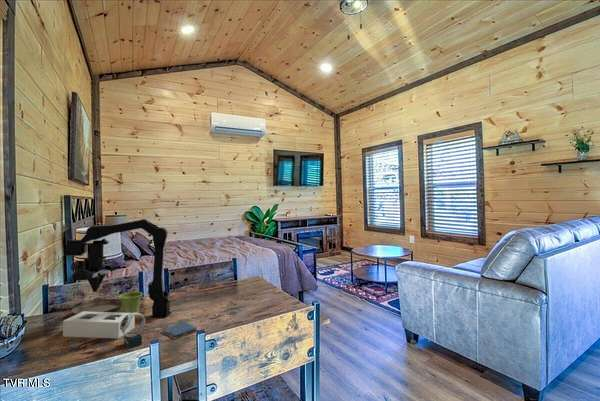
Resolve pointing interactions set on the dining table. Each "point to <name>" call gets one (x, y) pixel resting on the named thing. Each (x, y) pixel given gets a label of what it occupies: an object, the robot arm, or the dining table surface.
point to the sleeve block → (96, 325)
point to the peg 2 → (112, 317)
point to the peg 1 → (88, 316)
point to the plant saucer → (99, 306)
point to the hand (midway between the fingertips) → (95, 291)
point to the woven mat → (179, 330)
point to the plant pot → (131, 302)
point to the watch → (135, 337)
